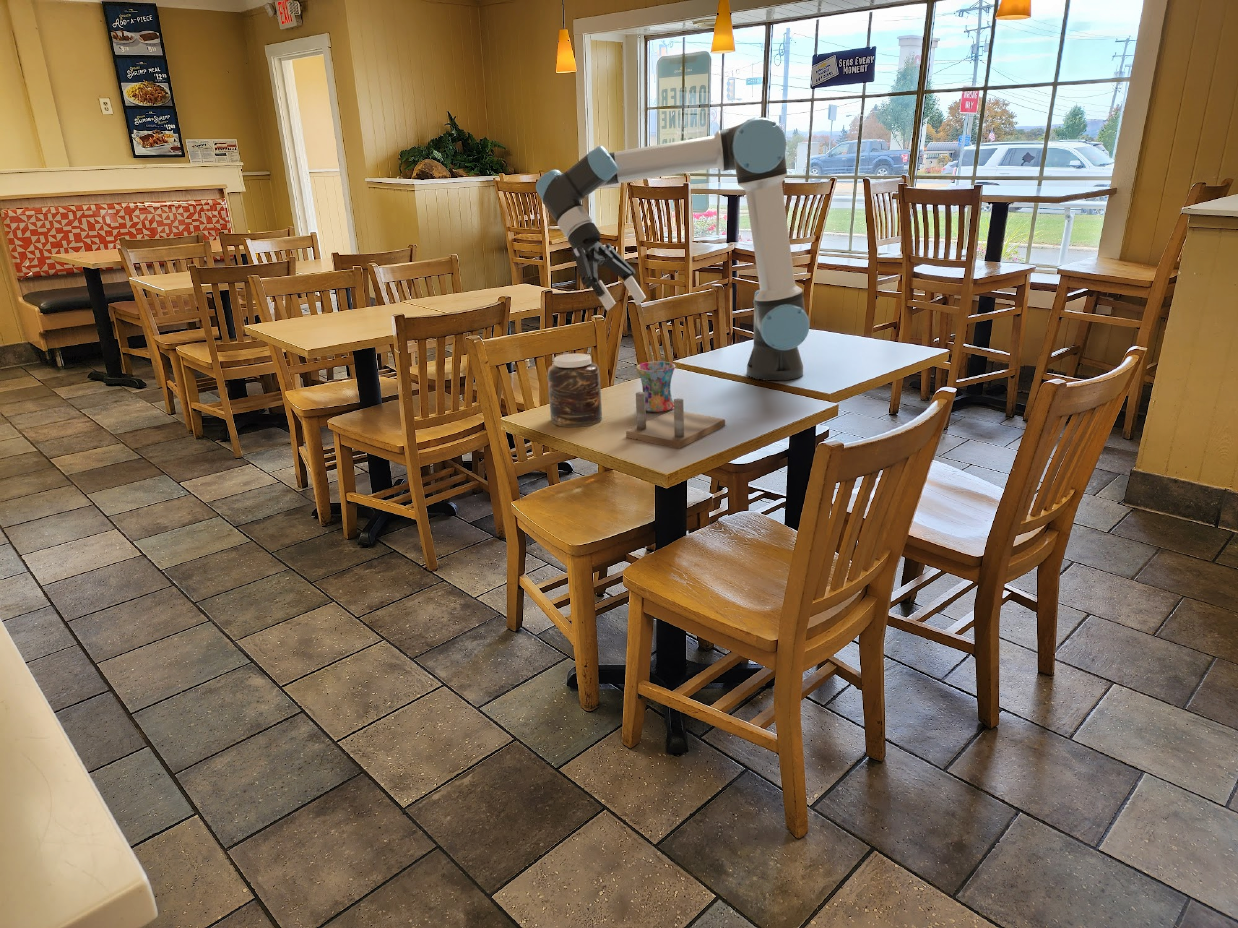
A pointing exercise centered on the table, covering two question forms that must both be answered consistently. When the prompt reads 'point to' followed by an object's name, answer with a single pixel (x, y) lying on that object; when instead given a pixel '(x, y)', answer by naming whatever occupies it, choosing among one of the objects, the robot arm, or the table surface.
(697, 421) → the board
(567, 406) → the jar
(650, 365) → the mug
